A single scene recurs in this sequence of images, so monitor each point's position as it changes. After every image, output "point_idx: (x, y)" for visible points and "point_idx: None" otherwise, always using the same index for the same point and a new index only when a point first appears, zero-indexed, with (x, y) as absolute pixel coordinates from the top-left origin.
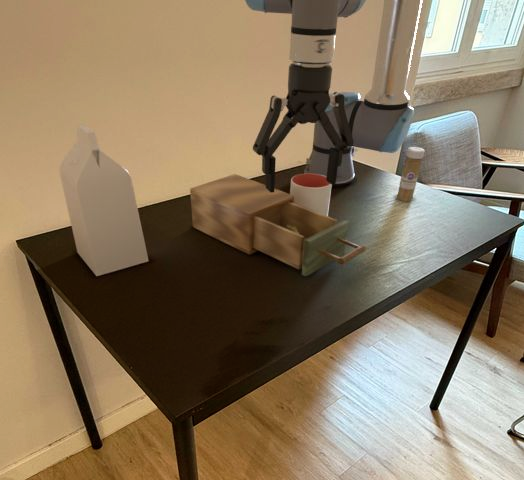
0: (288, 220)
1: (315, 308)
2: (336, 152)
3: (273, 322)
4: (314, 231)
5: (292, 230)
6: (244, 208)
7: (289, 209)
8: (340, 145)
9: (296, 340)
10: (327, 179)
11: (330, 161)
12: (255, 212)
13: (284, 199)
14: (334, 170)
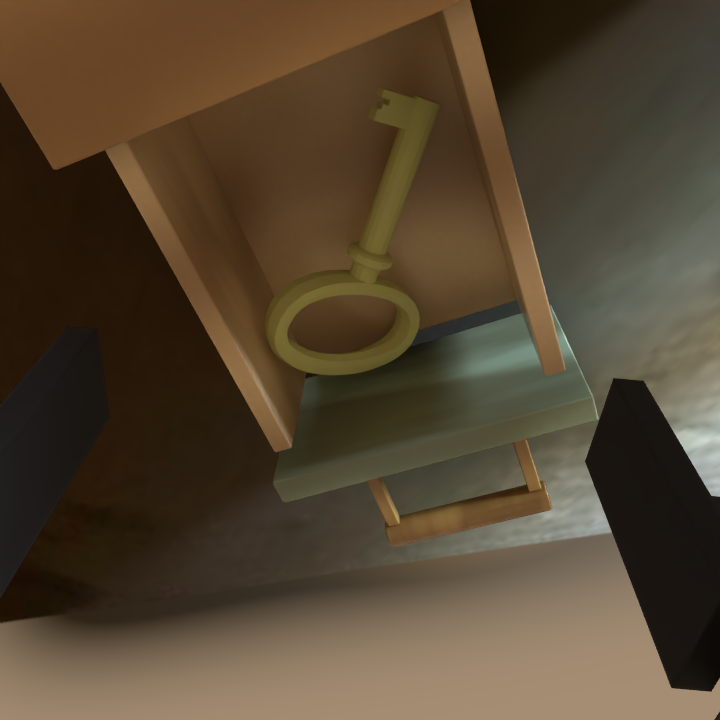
0: None
1: (257, 516)
2: (673, 680)
3: (110, 520)
4: (495, 217)
5: (399, 130)
6: (30, 64)
7: (442, 19)
8: None
9: (147, 588)
10: (612, 402)
11: (659, 524)
12: (102, 149)
13: (398, 21)
14: (620, 544)
